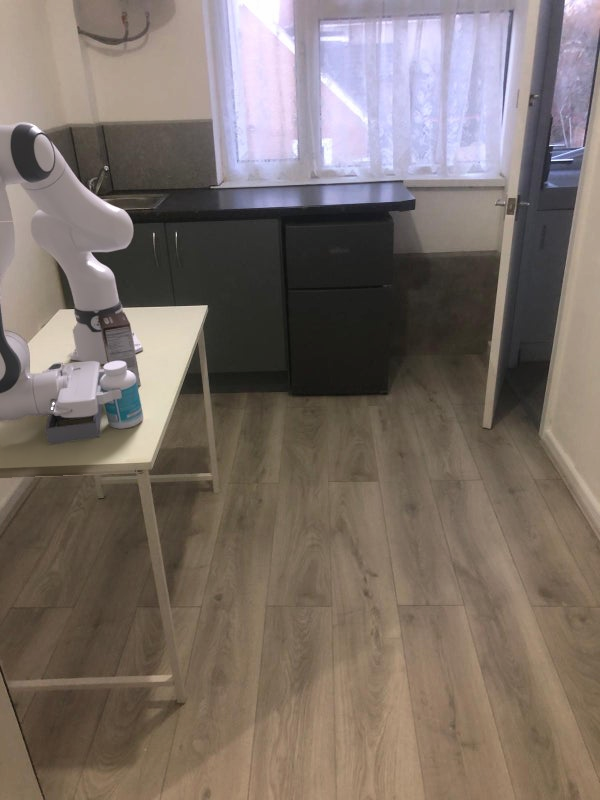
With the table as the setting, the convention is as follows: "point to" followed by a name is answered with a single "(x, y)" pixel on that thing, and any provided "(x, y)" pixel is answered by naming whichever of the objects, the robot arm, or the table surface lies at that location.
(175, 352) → the table surface
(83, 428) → the parts tub
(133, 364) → the coffee box
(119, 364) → the pill bottle
